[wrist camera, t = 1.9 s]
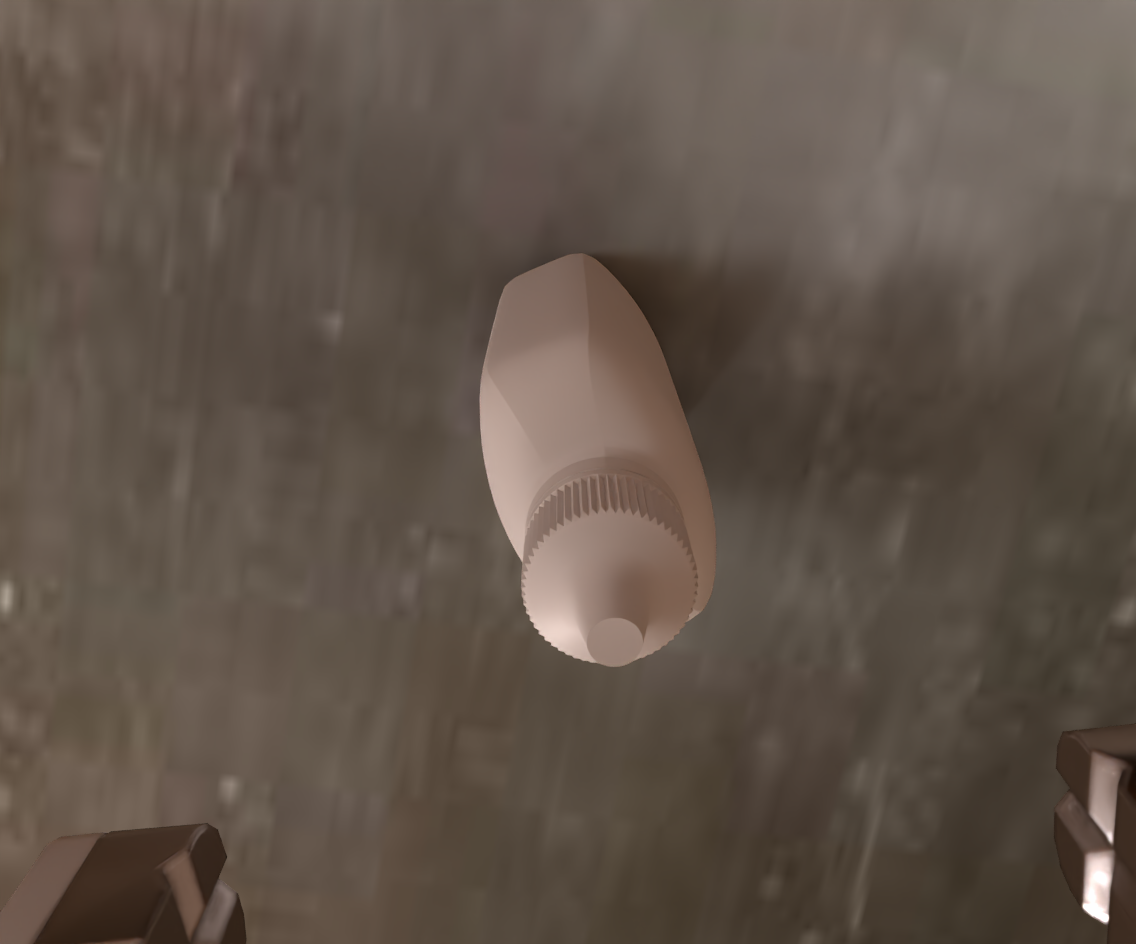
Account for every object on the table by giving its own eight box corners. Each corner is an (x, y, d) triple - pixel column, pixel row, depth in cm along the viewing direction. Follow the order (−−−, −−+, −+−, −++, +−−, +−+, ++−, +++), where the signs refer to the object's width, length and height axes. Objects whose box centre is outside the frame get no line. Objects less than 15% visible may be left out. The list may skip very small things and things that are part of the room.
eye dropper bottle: (485, 477, 25) (424, 811, 14) (505, 240, 23) (453, 409, 12) (666, 495, 25) (750, 839, 14) (703, 261, 23) (835, 446, 12)
